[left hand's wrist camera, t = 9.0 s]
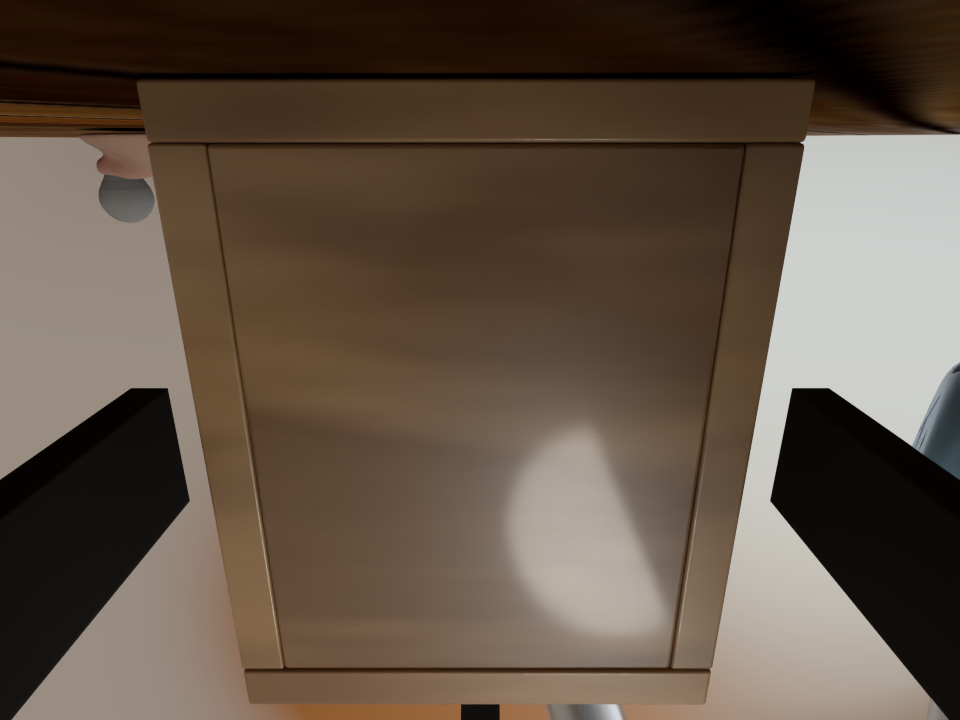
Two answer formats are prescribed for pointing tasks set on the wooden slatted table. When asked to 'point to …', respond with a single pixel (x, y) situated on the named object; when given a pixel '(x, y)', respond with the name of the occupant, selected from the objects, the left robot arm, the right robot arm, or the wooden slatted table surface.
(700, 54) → the wooden slatted table surface
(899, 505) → the left robot arm
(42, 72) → the wooden slatted table surface
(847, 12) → the wooden slatted table surface
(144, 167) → the anatomical model
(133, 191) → the light bulb
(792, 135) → the chest
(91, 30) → the wooden slatted table surface
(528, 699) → the lid
